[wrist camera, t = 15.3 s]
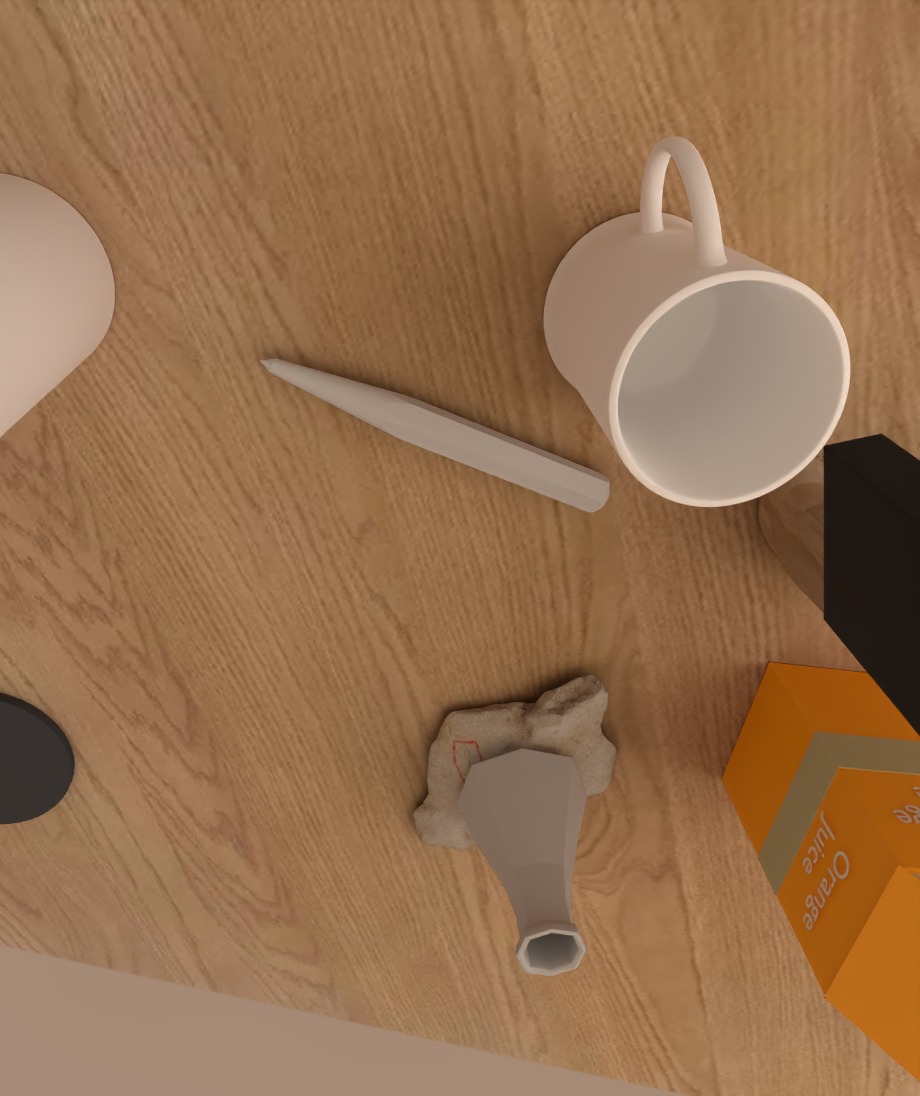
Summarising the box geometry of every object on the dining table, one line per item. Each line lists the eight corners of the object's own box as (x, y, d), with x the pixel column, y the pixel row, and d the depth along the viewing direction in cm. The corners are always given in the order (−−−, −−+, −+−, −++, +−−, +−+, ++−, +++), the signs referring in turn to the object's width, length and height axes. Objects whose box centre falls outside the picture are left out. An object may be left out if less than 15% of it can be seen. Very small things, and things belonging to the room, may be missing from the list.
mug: (538, 134, 36) (603, 156, 25) (745, 118, 36) (896, 132, 25) (544, 411, 41) (599, 525, 31) (723, 395, 41) (840, 503, 31)
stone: (596, 660, 48) (607, 692, 46) (638, 796, 53) (650, 832, 50) (369, 729, 49) (368, 764, 47) (431, 856, 54) (433, 894, 52)
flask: (583, 838, 50) (626, 997, 42) (458, 848, 50) (474, 1011, 41) (588, 739, 47) (635, 890, 38) (453, 750, 47) (469, 905, 38)
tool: (256, 371, 39) (250, 385, 37) (268, 336, 39) (262, 348, 37) (593, 503, 44) (602, 521, 42) (610, 474, 43) (619, 490, 41)
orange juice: (893, 674, 50) (1168, 995, 33) (836, 790, 54) (1053, 1132, 37) (766, 660, 49) (979, 986, 31) (717, 780, 53) (882, 1128, 35)
